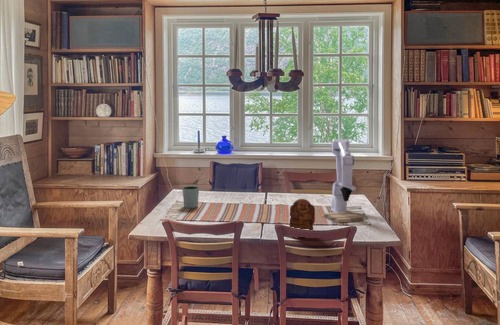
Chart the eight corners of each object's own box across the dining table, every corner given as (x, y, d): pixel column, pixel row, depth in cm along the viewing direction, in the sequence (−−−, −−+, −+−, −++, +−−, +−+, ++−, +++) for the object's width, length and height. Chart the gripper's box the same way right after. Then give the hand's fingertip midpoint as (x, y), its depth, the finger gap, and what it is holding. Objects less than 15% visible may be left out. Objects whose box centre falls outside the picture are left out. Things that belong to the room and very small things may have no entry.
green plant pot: (200, 205, 282) (200, 186, 281) (197, 208, 272) (197, 189, 271) (184, 204, 283) (184, 185, 282) (180, 208, 273) (180, 188, 272)
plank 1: (324, 216, 257) (324, 213, 257) (336, 215, 260) (336, 212, 260) (330, 219, 250) (331, 216, 250) (343, 218, 253) (343, 215, 253)
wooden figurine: (292, 237, 217) (293, 201, 215) (288, 234, 223) (289, 198, 221) (315, 236, 220) (317, 200, 217) (311, 232, 226) (312, 197, 223)
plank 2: (331, 219, 250) (331, 216, 250) (343, 218, 253) (343, 215, 253) (338, 222, 244) (338, 219, 243) (351, 221, 247) (351, 218, 246)
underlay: (321, 216, 257) (321, 216, 257) (348, 214, 264) (348, 213, 264) (336, 223, 243) (336, 223, 243) (364, 221, 249) (364, 220, 249)
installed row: (336, 215, 260) (337, 212, 260) (348, 214, 263) (348, 211, 263) (351, 221, 247) (351, 218, 247) (363, 220, 250) (363, 217, 249)
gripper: (333, 175, 257) (332, 198, 259) (348, 179, 244) (347, 204, 246) (344, 174, 260) (343, 197, 262) (359, 178, 246) (358, 203, 248)
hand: (346, 200), depth 254 cm, fingers closed
